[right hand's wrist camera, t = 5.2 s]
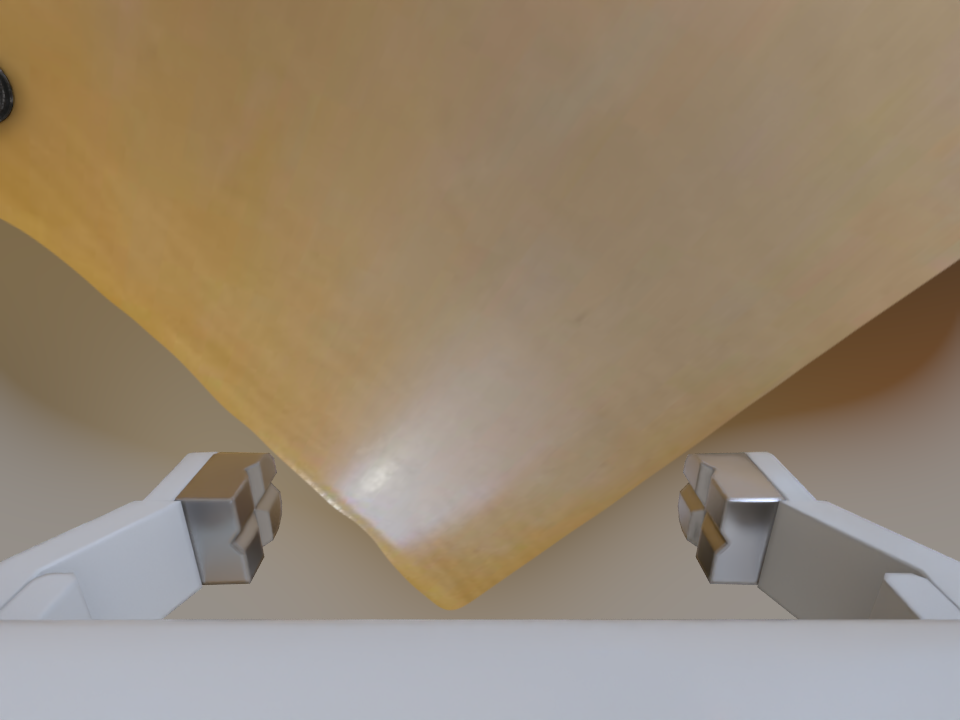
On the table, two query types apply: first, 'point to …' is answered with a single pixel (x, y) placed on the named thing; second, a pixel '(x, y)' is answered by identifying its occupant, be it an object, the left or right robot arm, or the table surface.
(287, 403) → the table surface
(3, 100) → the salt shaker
